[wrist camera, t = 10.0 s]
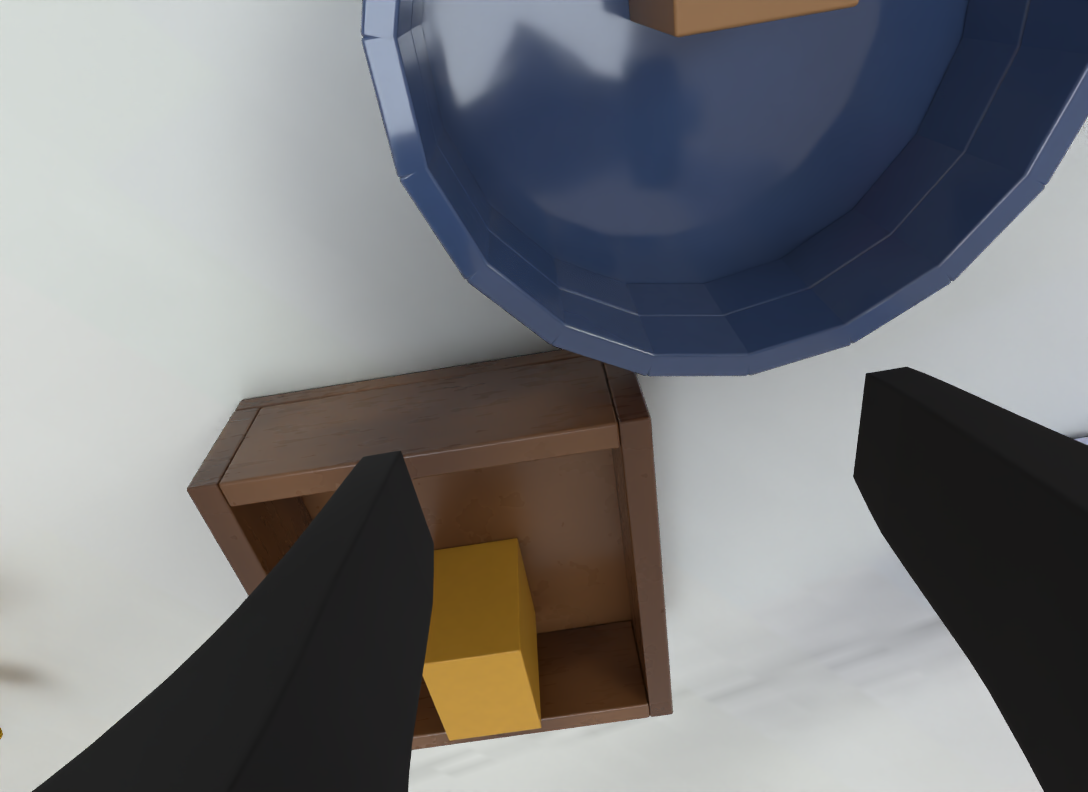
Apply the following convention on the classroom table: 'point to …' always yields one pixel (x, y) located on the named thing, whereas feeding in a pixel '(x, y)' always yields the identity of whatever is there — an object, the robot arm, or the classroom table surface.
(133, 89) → the classroom table surface
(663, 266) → the bowl
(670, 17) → the kraft packet
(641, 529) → the holder
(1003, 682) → the robot arm
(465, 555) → the yellow block
